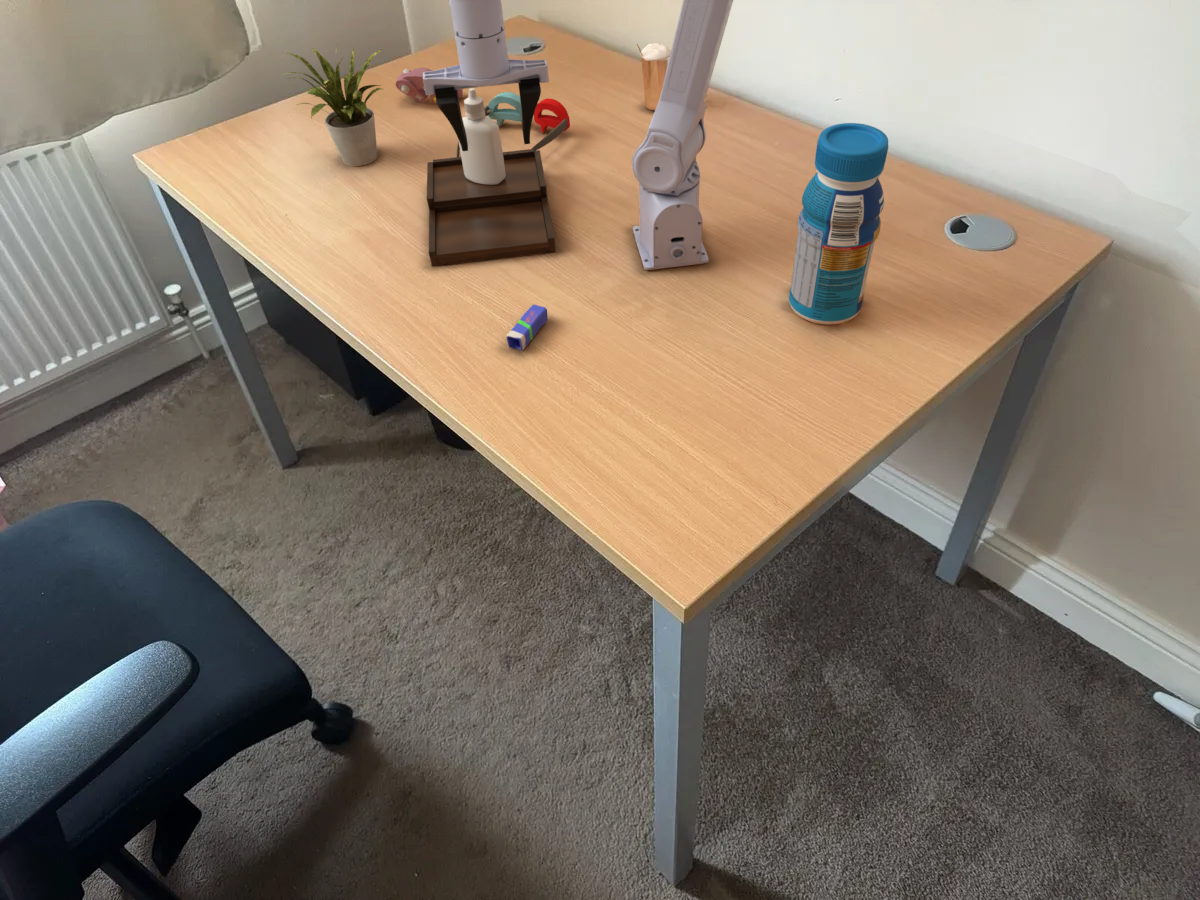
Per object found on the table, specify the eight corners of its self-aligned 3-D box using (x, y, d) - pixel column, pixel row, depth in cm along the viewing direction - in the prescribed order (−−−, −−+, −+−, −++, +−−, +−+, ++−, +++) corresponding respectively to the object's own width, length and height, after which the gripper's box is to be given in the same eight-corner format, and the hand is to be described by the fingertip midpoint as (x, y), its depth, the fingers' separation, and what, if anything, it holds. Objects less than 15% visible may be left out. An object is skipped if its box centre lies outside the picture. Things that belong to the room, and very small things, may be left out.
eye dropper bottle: (489, 165, 116) (475, 77, 108) (510, 181, 113) (498, 91, 105) (461, 175, 115) (445, 87, 106) (481, 191, 112) (467, 102, 103)
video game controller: (404, 110, 141) (387, 80, 134) (412, 87, 142) (396, 56, 135) (459, 115, 138) (444, 85, 132) (466, 92, 140) (452, 61, 133)
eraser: (507, 348, 94) (505, 333, 93) (534, 317, 98) (532, 303, 96) (522, 352, 93) (520, 338, 92) (549, 321, 97) (547, 307, 96)
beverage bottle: (771, 306, 97) (791, 139, 82) (815, 274, 101) (842, 109, 86) (834, 337, 93) (866, 167, 78) (877, 302, 96) (916, 134, 82)
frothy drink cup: (631, 104, 134) (630, 39, 127) (661, 97, 136) (662, 31, 128) (644, 116, 131) (644, 49, 124) (675, 108, 133) (676, 41, 125)
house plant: (285, 178, 123) (246, 64, 111) (328, 134, 132) (296, 24, 121) (375, 186, 120) (345, 69, 109) (412, 140, 130) (388, 28, 118)
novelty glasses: (575, 132, 129) (572, 100, 125) (529, 179, 120) (525, 145, 116) (495, 119, 133) (491, 87, 130) (445, 163, 124) (439, 130, 121)
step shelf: (555, 252, 107) (553, 224, 104) (431, 266, 106) (425, 238, 103) (542, 174, 120) (539, 147, 118) (432, 186, 120) (426, 160, 117)
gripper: (540, 10, 99) (550, 123, 109) (415, 23, 98) (437, 135, 108) (545, 32, 94) (556, 148, 104) (414, 46, 93) (437, 162, 103)
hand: (495, 143), depth 105 cm, fingers open, 7 cm apart
